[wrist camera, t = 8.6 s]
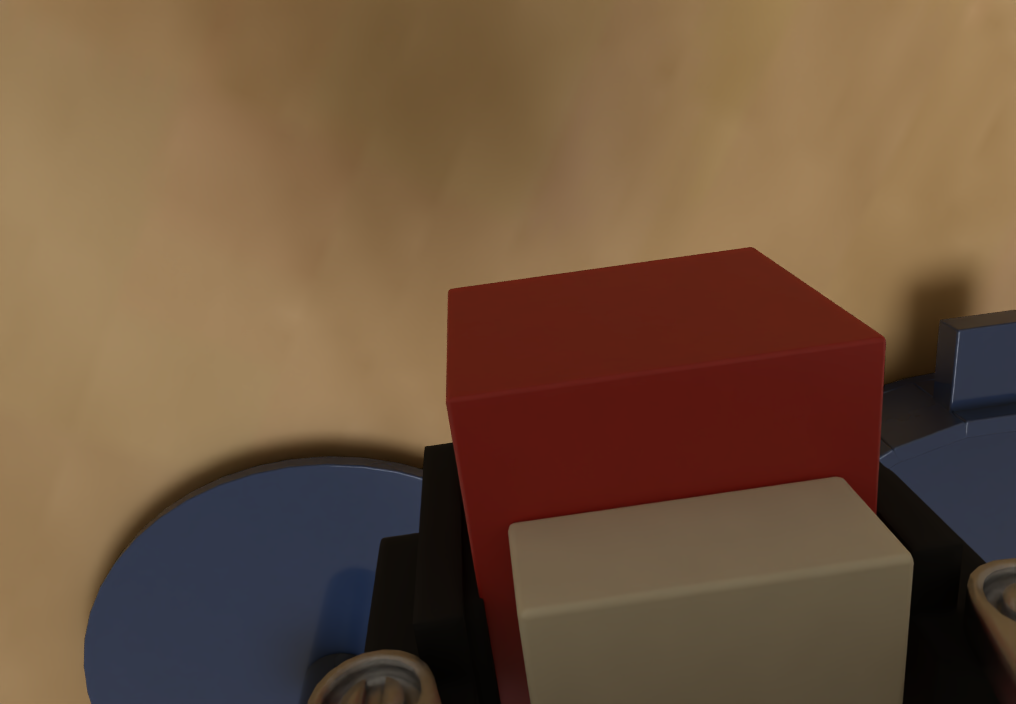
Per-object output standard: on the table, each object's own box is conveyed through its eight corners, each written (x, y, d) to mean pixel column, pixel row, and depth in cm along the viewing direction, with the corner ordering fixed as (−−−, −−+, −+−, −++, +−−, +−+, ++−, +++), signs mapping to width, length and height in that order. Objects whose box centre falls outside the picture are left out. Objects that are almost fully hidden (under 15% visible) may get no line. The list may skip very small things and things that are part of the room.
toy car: (448, 268, 12) (444, 475, 6) (729, 229, 12) (980, 399, 6) (511, 668, 14) (547, 1062, 9) (737, 635, 15) (915, 1005, 9)
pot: (1198, 261, 26) (1304, 292, 23) (1093, 761, 35) (1160, 836, 31) (685, 331, 26) (719, 372, 23) (704, 818, 34) (730, 900, 31)
